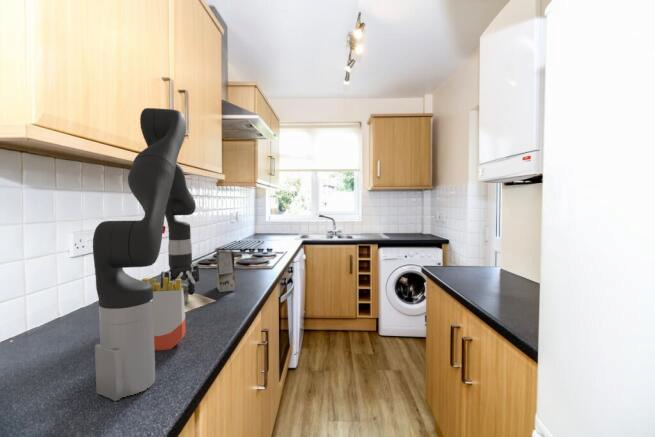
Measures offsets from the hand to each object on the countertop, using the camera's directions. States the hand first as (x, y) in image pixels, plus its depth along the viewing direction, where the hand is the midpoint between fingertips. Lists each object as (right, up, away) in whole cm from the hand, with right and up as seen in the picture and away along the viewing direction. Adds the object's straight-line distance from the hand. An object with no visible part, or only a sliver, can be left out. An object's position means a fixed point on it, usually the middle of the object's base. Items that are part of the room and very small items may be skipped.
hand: (181, 297), depth 116 cm
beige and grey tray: (-6, -4, +3) cm, 7 cm away
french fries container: (+9, -5, -32) cm, 34 cm away
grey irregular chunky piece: (-3, -2, +1) cm, 4 cm away
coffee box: (+9, -2, +22) cm, 24 cm away
